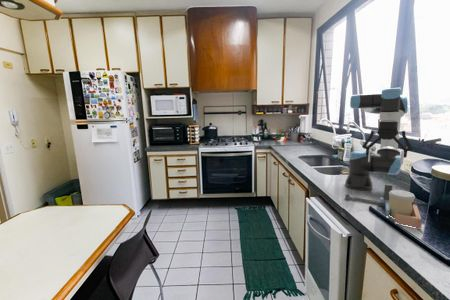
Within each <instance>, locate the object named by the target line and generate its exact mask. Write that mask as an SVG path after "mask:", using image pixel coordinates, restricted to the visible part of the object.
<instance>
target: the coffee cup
mask: <svg viewBox="0 0 450 300" xmlns="http://www.w3.org/2000/svg"><path fill="white" fill-rule="evenodd" d="M415 199H416V196H415V194H414V193H412V192H410V191H408V190H404V189H403V190H402V189H392V190H391V191H390V192H389V208H390V214H389V215H390V216H392V217H393V218H395V213H396V214H402V215H407V216H412V214H411V213H412V208H413V204H414V202H415ZM390 216H389V217H390Z"/></svg>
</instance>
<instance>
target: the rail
mask: <svg viewBox="0 0 450 300" xmlns="http://www.w3.org/2000/svg"><path fill="white" fill-rule="evenodd" d="M344 199H345V200H347V201H352V202H353V201H354V202H358V203H365V204H370V205H377V206H382V207H385V203H380V200H379V201H377V200H374V199H373V200H371V199H366V198H361V197H353V196H351V193H350V192H349V193H348V192H346V193H345V198H344Z"/></svg>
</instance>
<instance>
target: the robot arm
mask: <svg viewBox="0 0 450 300" xmlns="http://www.w3.org/2000/svg"><path fill="white" fill-rule="evenodd" d="M349 102H350V105H349V106H350V108H351V109H356V110H357V109H361V110H362V111H363V112H366V113H370V114H377V115H378V114H379V121H378V129H377V130H373V129H372V130H371V131H370V133H369V135H368V137H367V139H366V140H365V142H364V143H363V145H362V148H363V149H359V150H354V151H351V152H350V155H349V168H348V169H349V170H348V175H347V177H346V179H345V183H344V185H345V187H346V188H350V189H353V190H357V191H369V190H370V191H371V190H372V189H373V186H374V185H373V181H372V178H371V173H376V174H384V175H396V176H397V175H399V174H400V172H401V168H402V166H403V165H404V158H407V156H408V152H409V151H412V150H413V147H412V146H411V144H410V141H409V140H408V137H407V135H406V131H405V130H400V128H401V120H402V118H403V117H404V116H405V114H407V113H408V110H409V109H408V108H409V107H408V98H407V95H405V94H402V88H401V87H392V88H391V87H389V88H383V89H382V90H381V92H379V93H363V94H360V93H359V94H353V95H351V96H350V101H349ZM376 134H377V135H378V136H377V137H376V138H375V139H374V140H373V141H372V142H371V143H369V142H370V141H371V140H372V138H373V136H375V135H376ZM400 136H401V137H402V139H403V141H404V142H405V144H406V146H405V145H404V144H403V143H402V142H401V141H400V140H399V138H400ZM379 141H380V147H379V149H377V151H376V152H375V153H373V150H371V148H372V147H373V146H374V145H375V144H377V143H378V142H379ZM399 147H400V148H401V149H402V150H401V151H400V150H398V149H399Z"/></svg>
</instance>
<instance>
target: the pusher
mask: <svg viewBox="0 0 450 300" xmlns="http://www.w3.org/2000/svg"><path fill="white" fill-rule="evenodd" d="M393 187H394V186H393V183H388V182H387V183H386V182H384V192H383V197H380V198H379V202H380V203H385V206H384V208H385V217H386V216H388V217H389V218H390V216H389V214H390V208H389V192H390V191H391V190H393Z"/></svg>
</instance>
